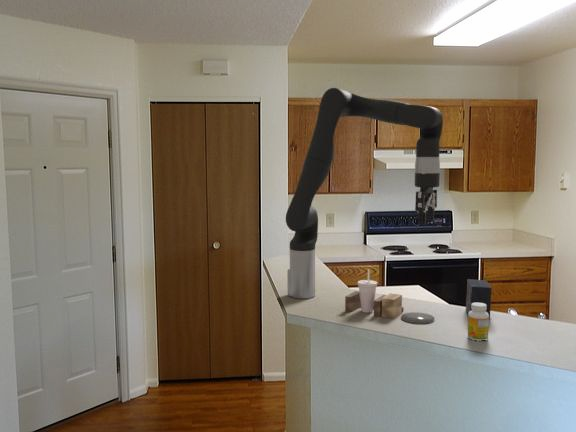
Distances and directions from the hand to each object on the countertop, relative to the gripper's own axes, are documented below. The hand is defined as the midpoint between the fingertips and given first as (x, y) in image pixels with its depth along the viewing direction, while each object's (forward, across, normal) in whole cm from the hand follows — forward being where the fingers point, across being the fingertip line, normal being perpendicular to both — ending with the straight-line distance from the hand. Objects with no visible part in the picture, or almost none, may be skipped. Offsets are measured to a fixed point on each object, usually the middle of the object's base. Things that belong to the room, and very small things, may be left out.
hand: (426, 223), depth 170 cm
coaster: (+29, +6, 0) cm, 30 cm away
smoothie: (+30, +6, -17) cm, 35 cm away
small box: (+30, -8, +15) cm, 34 cm away
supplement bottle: (+30, +15, +20) cm, 39 cm away
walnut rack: (+29, +6, -15) cm, 33 cm away
